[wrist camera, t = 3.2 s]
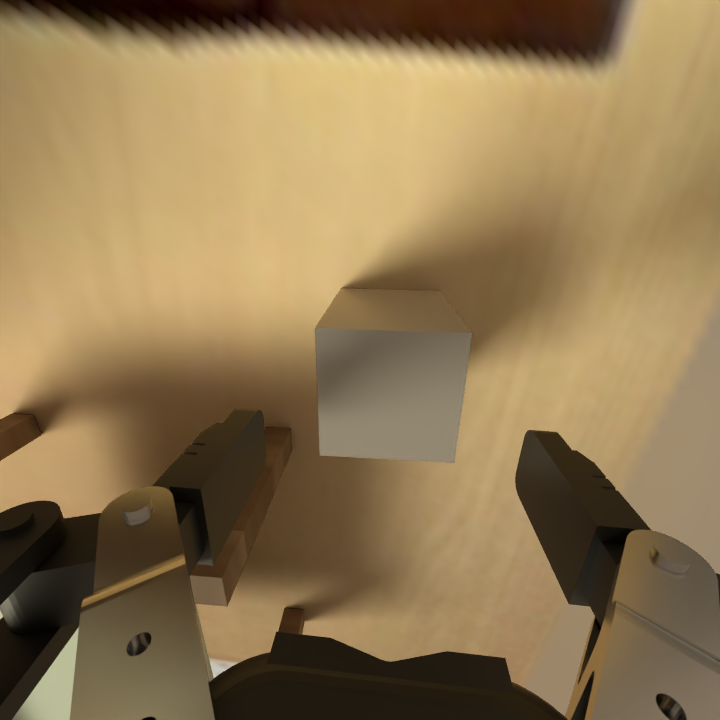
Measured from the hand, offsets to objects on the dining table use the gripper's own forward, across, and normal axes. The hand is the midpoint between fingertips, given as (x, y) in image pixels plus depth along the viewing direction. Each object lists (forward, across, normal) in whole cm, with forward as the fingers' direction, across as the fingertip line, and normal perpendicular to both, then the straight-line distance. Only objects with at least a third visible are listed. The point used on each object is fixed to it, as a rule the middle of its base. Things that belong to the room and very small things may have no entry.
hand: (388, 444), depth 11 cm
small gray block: (+5, 0, -1) cm, 5 cm away
